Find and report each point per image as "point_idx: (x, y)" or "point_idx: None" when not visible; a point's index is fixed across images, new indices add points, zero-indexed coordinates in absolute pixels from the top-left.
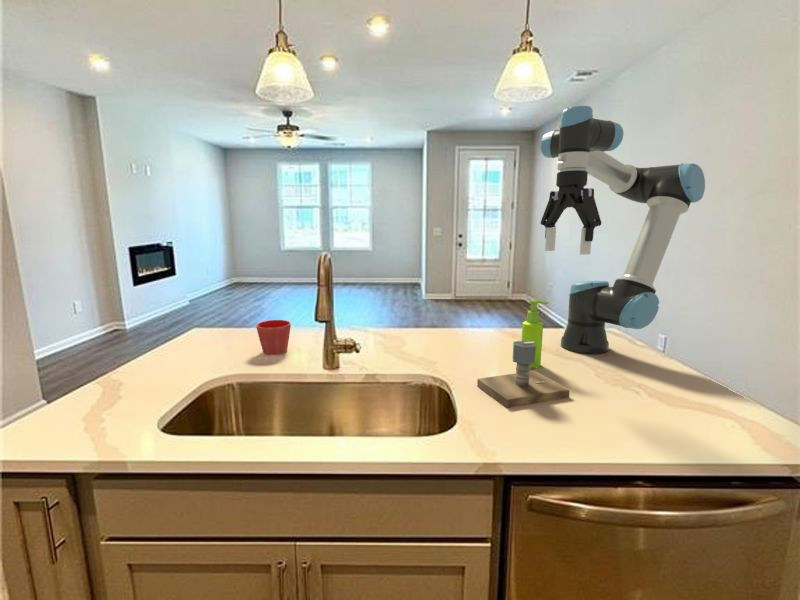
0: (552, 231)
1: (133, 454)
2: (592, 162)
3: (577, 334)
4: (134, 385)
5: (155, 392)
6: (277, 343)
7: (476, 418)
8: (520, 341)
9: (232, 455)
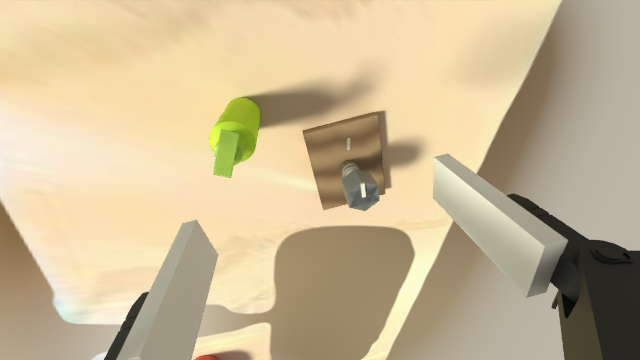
0: (171, 338)
1: (382, 356)
2: None
3: None
4: None
5: None
6: None
7: (394, 217)
8: (350, 198)
9: (396, 328)
